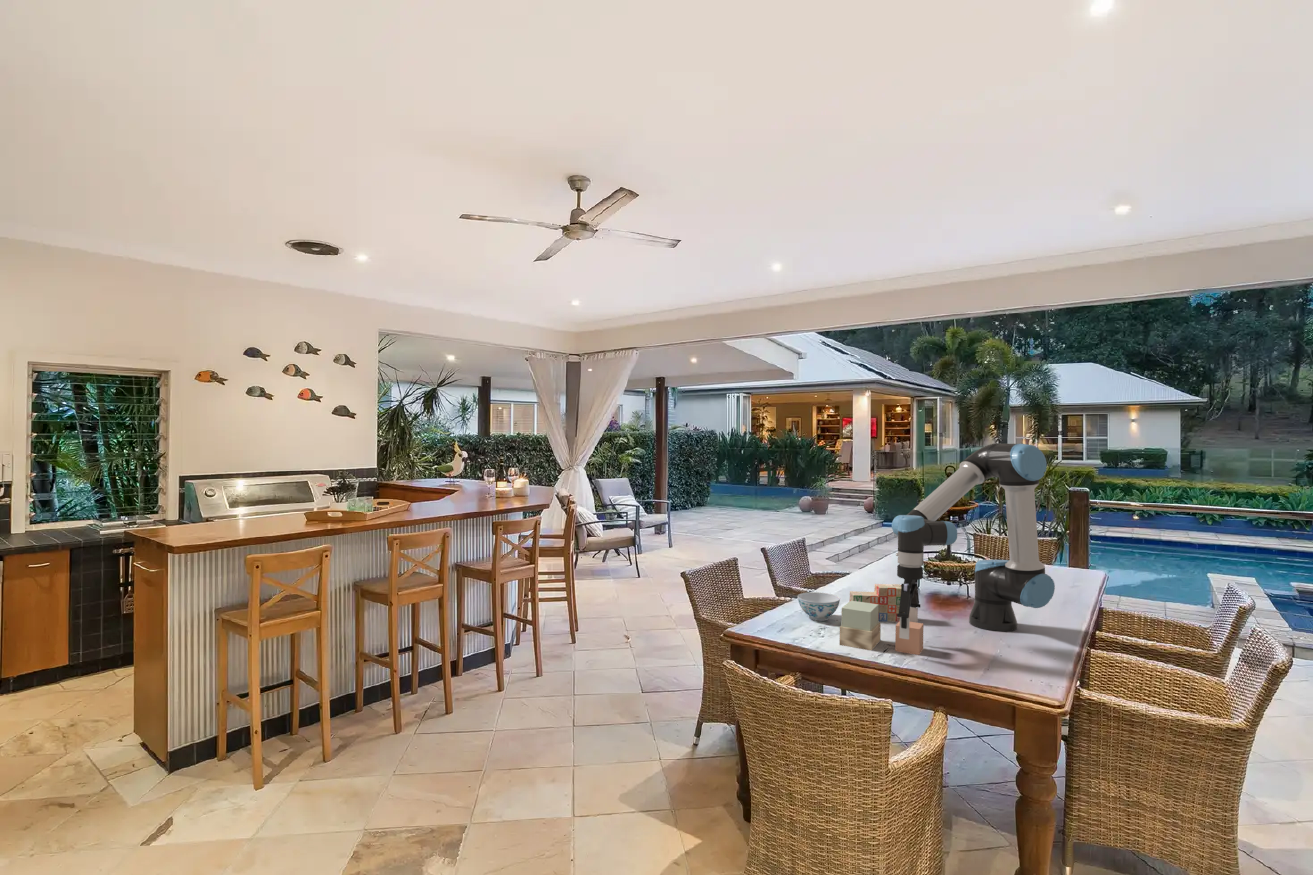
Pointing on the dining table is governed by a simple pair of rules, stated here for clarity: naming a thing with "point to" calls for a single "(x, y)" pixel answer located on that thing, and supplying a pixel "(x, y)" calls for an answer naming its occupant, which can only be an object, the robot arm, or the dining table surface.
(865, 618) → the tower top block
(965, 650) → the dining table surface
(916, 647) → the terracotta block
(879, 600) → the stack of blocks
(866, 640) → the tower base block
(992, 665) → the dining table surface
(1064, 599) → the dining table surface
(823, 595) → the chinaware
